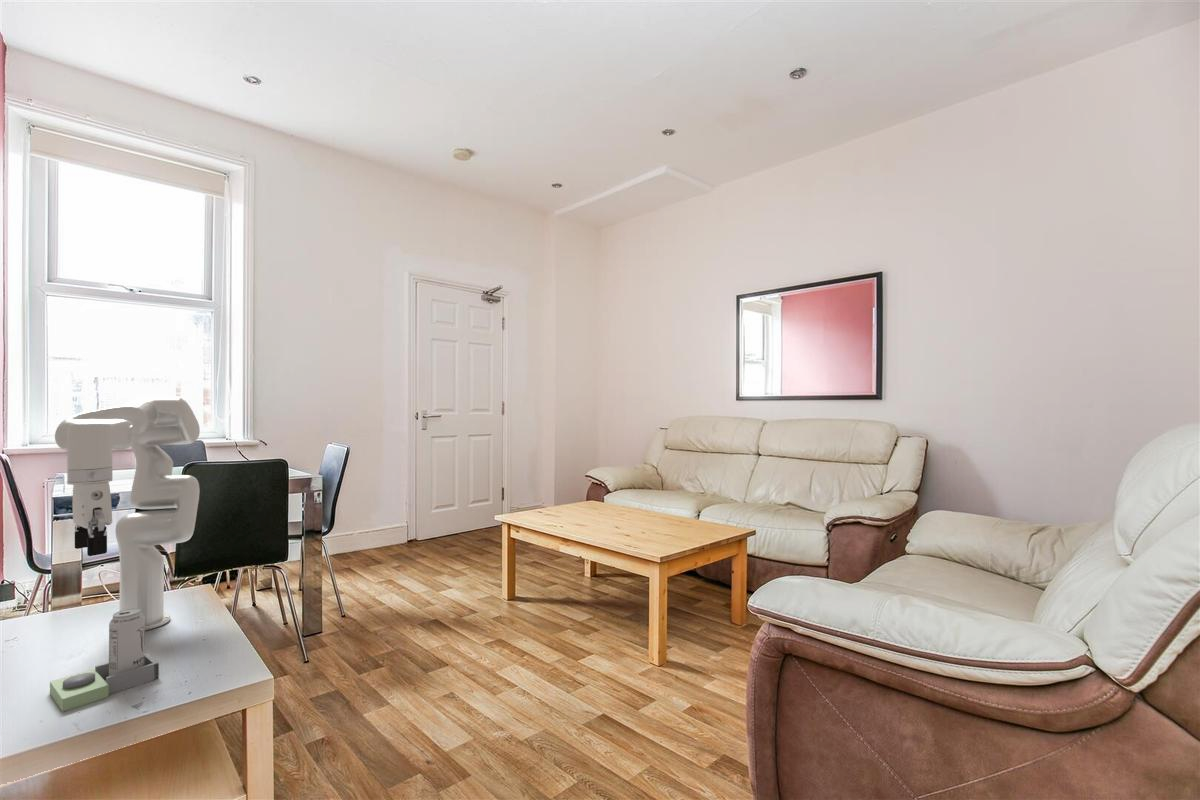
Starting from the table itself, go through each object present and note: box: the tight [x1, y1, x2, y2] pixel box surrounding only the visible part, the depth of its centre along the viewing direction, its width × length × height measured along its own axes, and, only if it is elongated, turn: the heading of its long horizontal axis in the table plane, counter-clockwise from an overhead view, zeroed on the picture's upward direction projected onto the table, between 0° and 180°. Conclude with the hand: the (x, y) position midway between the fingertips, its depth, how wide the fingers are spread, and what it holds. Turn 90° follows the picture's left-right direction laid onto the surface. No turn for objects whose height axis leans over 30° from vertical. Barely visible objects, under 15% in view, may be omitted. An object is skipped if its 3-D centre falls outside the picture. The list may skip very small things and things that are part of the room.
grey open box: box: [49, 651, 160, 713], centre depth 119 cm, size 12×16×4 cm
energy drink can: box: [108, 609, 146, 676], centre depth 122 cm, size 6×6×15 cm
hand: (90, 550), depth 124 cm, fingers open, 9 cm apart
